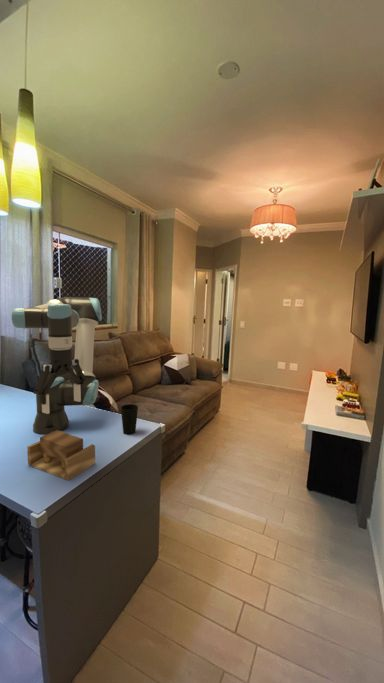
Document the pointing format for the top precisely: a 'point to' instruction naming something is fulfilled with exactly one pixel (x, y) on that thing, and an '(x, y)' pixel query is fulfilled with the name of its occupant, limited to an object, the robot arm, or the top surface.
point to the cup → (129, 418)
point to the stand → (59, 467)
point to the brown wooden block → (60, 445)
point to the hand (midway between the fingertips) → (62, 406)
